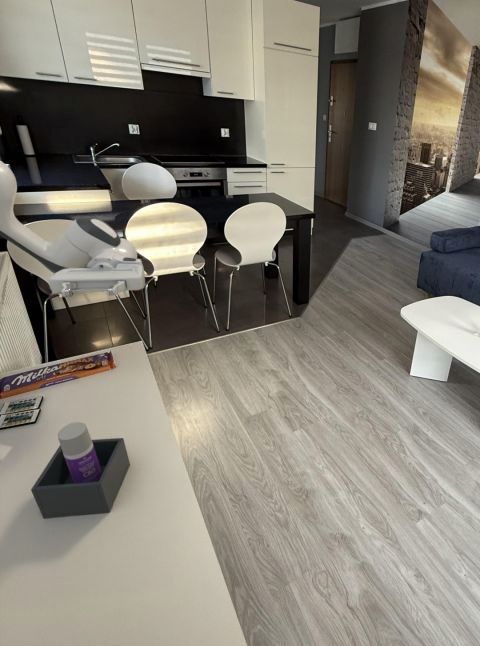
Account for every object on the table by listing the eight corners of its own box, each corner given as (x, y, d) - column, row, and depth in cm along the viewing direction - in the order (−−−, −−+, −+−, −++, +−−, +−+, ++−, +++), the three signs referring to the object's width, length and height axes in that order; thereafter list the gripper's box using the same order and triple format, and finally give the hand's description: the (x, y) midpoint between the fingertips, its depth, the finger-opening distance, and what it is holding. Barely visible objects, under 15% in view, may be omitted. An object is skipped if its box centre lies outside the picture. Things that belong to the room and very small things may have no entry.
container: (92, 498, 77) (73, 442, 71) (71, 493, 78) (49, 437, 71) (110, 478, 82) (93, 424, 75) (89, 473, 82) (71, 419, 75)
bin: (43, 518, 74) (30, 489, 71) (72, 468, 84) (62, 441, 80) (109, 512, 76) (100, 484, 73) (130, 464, 86) (123, 437, 83)
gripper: (58, 260, 100) (32, 282, 88) (147, 259, 105) (134, 279, 93) (65, 282, 103) (40, 307, 91) (151, 280, 108) (139, 303, 96)
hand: (89, 293), depth 92 cm, fingers open, 8 cm apart
